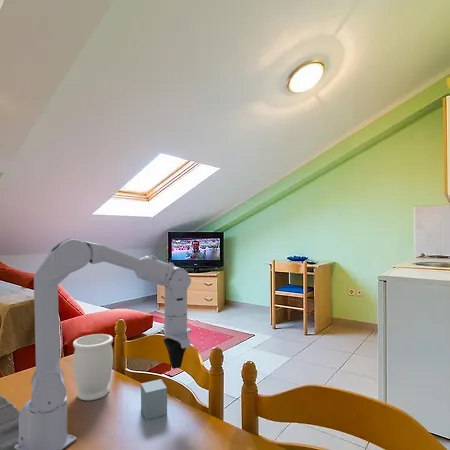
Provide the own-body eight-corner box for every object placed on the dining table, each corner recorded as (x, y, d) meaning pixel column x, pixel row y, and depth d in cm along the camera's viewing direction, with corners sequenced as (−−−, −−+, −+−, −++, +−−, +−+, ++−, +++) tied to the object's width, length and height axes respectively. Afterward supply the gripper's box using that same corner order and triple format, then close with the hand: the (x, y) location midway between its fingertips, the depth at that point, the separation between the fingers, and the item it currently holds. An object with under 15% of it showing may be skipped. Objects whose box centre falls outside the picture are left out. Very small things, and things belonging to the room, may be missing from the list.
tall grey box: (146, 420, 79) (145, 392, 79) (141, 409, 84) (140, 383, 84) (167, 414, 82) (167, 387, 82) (161, 404, 86) (161, 379, 86)
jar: (114, 398, 89) (114, 343, 89) (72, 406, 85) (71, 348, 85) (112, 381, 99) (112, 331, 99) (74, 388, 95) (74, 335, 95)
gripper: (201, 318, 80) (201, 375, 80) (181, 306, 93) (181, 354, 93) (173, 322, 77) (173, 381, 77) (156, 309, 90) (156, 359, 90)
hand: (176, 367), depth 85 cm, fingers closed
